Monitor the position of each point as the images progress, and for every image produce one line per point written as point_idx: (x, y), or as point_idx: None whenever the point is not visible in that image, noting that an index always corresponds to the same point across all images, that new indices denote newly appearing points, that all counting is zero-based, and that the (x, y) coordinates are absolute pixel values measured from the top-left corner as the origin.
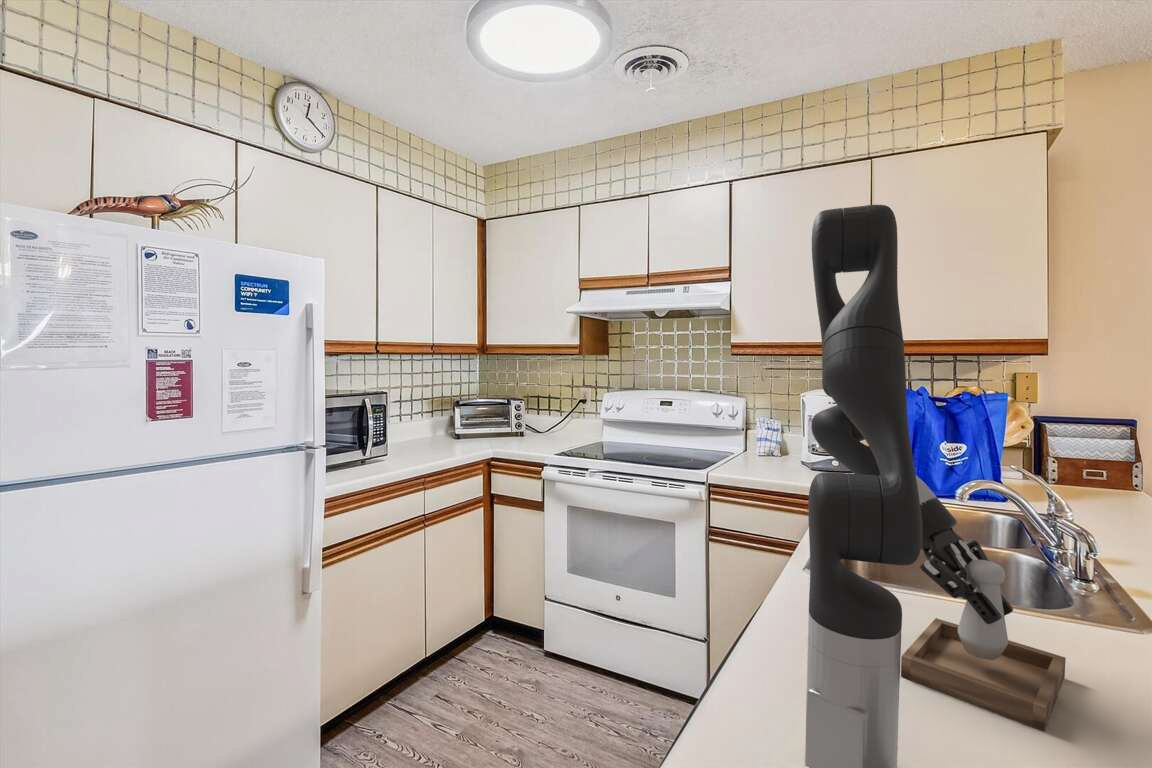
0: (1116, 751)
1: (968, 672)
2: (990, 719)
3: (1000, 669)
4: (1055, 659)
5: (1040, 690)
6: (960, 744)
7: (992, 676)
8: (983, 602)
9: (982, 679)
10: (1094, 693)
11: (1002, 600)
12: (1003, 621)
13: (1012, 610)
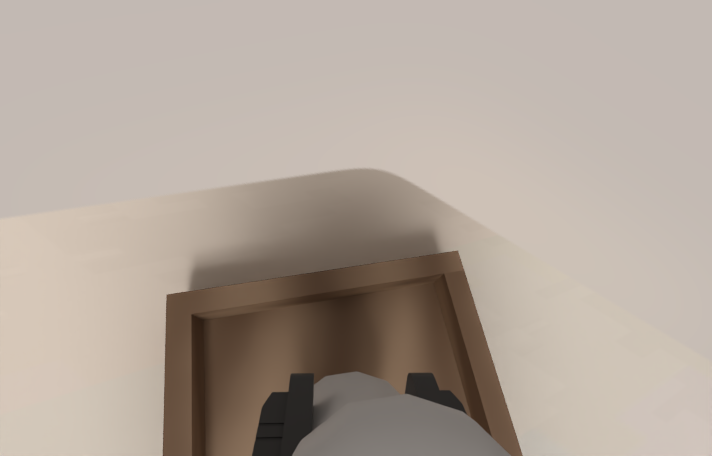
0: (395, 188)
1: None
2: (494, 339)
3: None
4: (201, 306)
5: (397, 278)
6: (615, 339)
7: None
8: None
9: None
10: (213, 251)
11: (311, 415)
12: (349, 387)
13: (296, 373)
